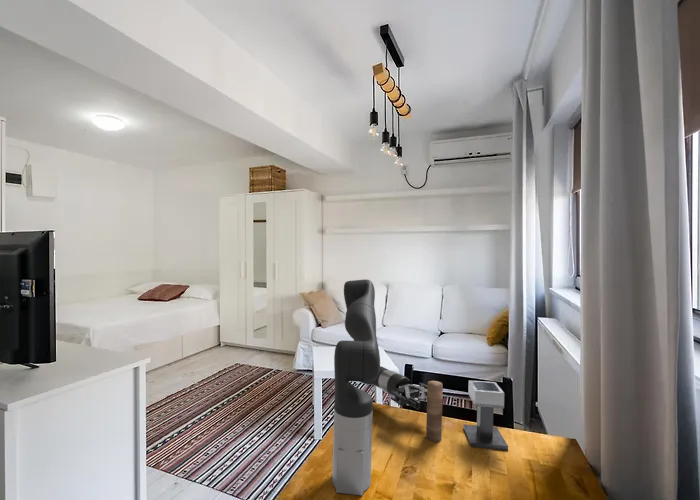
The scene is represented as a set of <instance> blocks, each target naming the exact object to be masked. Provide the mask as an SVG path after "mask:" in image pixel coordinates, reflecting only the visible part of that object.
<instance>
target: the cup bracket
mask: <svg viewBox="0 0 700 500" xmlns="http://www.w3.org/2000/svg"><path fill="white" fill-rule="evenodd" d="M467 391H468V393H467V394H468V396H469V397H470V400H471V402H472V404H473V405H474V406H475V407H477V408H476V425H475V424H474V425H472V424H465V423H464V424H463V427H462V428H463V431H464V432H465V436H466V438H467V440H468V443H469V446H470V448H480V449H489V450H490V449H491V450H492V449H493V450H502V451H509V445H508V443H507V442H506V440H505V438H504V437H503V435H502V434H501V432H500V430H499V429H498V427H496V426H494V408H496V409H505V392H504V391H503V389H502V388H501V387H500V386H499V385H498V383H497V382H494V381H485V380H484V381H481V380H468V390H467Z"/></svg>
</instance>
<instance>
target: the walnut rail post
mask: <svg viewBox="0 0 700 500" xmlns="http://www.w3.org/2000/svg"><path fill="white" fill-rule="evenodd" d="M426 385H427V394H426V395H427V398H426V427H425V428H426V429H425V431H426V433H425V437H426V439H427V440H428V441H430V442H434V443H437V442H438V443H439V442H441V441H442V428H443V424H442V423H443V391H444V389H443V388H444V387H443V386H444V385H443V383H442V382H441V381H438V380H429V381H428V382H427V384H426Z"/></svg>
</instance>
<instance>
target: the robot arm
mask: <svg viewBox="0 0 700 500" xmlns="http://www.w3.org/2000/svg"><path fill="white" fill-rule="evenodd" d="M343 285H344V286H343V299H344V302H345V303H344V304H345V308H346V312H345V316H344V317H345V319H344V327H345V331H346V332H347V334H348V335H349V336H350V338H352V340H340V341H337V343H336V345H335V348H334V355H333V361H334V363H333V365H334V367H333V368H334V403H333V405H334V406H333V434H332V435H333V438H332V441H333V442H332V475H331V476H332V477H331V478H332V481H331V483H332V485H333V487H335V493H337V494H345V495H354V496H363V495H364V492H365V491H367V490H368V489H369V488H370V486H371V482H372V451H373V450H372V448H373V445H372V444H373V442H372V441H373V406H374V404H373V403H374V401H373V398H372V396H371V394H370V393H368V392H367V391H365V390H364V389H361V388H358V387H356V386H355V385H353V384H352V383H351V382H359V383H361V384H366V385H369V386H375V387H377V388H379V389H380V390H382V391H383V392H384V393H386V394H388V396H390V400H392V401H393V402H394V403H396V404H398V405H399V406H401V407H405V405H406V406H410V407H412V408H414V409H416V410H420V409H421V401H419V400H417V399H421V400H424V399H427V384H425V383H424V382H419V383H418V384H419V385H416V384H413V383H412V382H411V379H409V378H408V377H407V376H404V375H402V374H400V373H398V372H396V371H394V370H391V369H388V368H386V367H384V366H381V355H380V350H379V344H378V338H377V317H376V309H375V300H376V299H375V296H376V295H375V294H376V293H375V292H376V290H375V286H374V283H373V282H372V280H371V279H365V278H364V279H356V280H354V279H353V280H346V281H345V282H344V284H343ZM420 393H421V395H420Z"/></svg>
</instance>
